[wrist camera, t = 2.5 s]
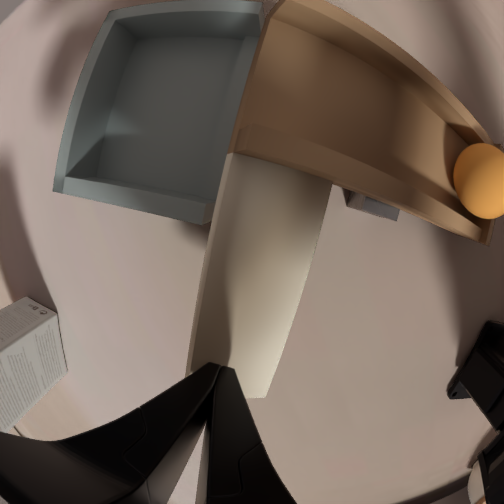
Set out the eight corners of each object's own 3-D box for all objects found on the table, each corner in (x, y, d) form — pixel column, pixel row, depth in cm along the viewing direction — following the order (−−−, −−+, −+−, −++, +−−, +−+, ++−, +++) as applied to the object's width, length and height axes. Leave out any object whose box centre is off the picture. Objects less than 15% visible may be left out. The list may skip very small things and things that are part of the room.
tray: (266, 35, 10) (262, 2, 7) (218, 217, 13) (201, 225, 10) (133, 33, 11) (109, 11, 8) (87, 189, 13) (52, 191, 10)
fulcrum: (397, 104, 11) (418, 90, 8) (376, 215, 12) (396, 221, 10) (369, 93, 11) (386, 75, 8) (346, 206, 12) (362, 209, 10)
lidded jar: (484, 442, 15) (511, 490, 6) (527, 417, 14) (553, 453, 5) (446, 486, 18) (462, 529, 9) (492, 463, 17) (510, 498, 8)
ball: (486, 162, 9) (530, 162, 6) (477, 222, 10) (521, 234, 6) (444, 134, 9) (490, 125, 6) (434, 201, 10) (482, 208, 6)
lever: (469, 145, 10) (504, 149, 8) (401, 365, 13) (426, 388, 11) (265, 16, 6) (297, -22, 4) (184, 383, 9) (192, 432, 7)
